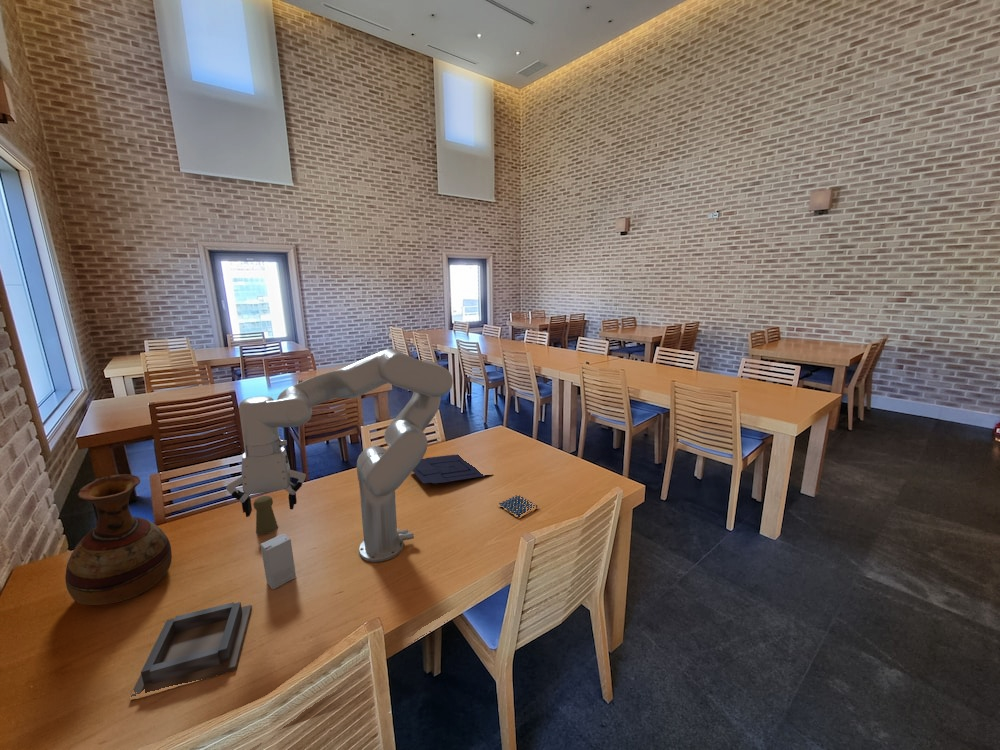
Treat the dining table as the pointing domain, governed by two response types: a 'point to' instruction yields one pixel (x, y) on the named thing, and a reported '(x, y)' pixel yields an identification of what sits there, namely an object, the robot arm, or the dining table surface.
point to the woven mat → (516, 505)
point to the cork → (264, 516)
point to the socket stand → (195, 647)
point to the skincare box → (278, 561)
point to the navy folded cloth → (445, 469)
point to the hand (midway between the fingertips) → (271, 510)
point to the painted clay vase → (116, 547)
